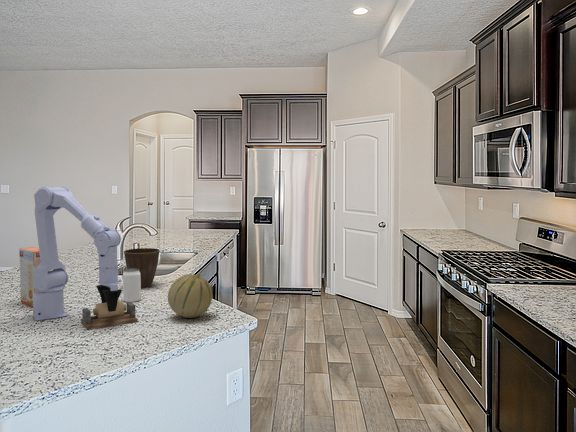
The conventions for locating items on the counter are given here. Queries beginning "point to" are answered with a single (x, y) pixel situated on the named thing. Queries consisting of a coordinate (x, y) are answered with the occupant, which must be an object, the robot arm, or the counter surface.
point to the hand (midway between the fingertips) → (109, 308)
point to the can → (131, 285)
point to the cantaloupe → (190, 296)
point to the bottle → (103, 312)
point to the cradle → (108, 318)
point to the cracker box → (28, 273)
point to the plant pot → (143, 263)
